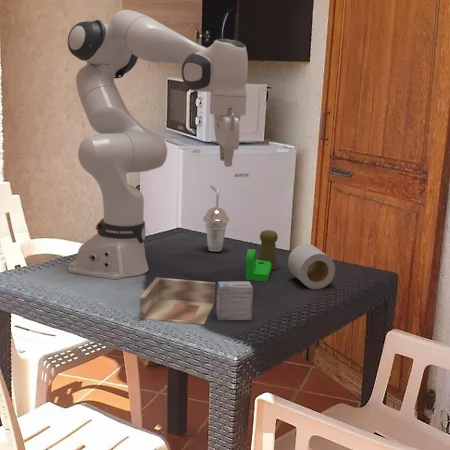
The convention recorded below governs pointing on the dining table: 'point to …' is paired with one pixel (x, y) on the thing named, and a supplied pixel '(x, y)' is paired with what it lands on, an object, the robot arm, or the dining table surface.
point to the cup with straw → (215, 226)
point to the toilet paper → (318, 273)
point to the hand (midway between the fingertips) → (225, 163)
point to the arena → (178, 301)
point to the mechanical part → (256, 267)
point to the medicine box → (234, 300)
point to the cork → (268, 247)
